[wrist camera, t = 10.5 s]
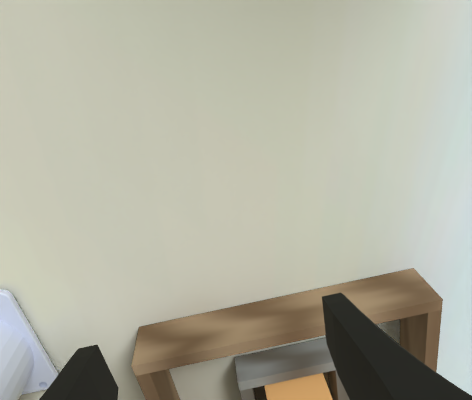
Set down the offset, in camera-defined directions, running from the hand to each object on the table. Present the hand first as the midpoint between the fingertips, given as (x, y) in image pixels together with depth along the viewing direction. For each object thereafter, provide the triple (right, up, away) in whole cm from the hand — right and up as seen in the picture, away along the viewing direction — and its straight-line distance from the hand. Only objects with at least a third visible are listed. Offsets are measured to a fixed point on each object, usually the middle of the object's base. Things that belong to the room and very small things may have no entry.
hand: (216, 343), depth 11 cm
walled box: (+5, -9, +15) cm, 18 cm away
